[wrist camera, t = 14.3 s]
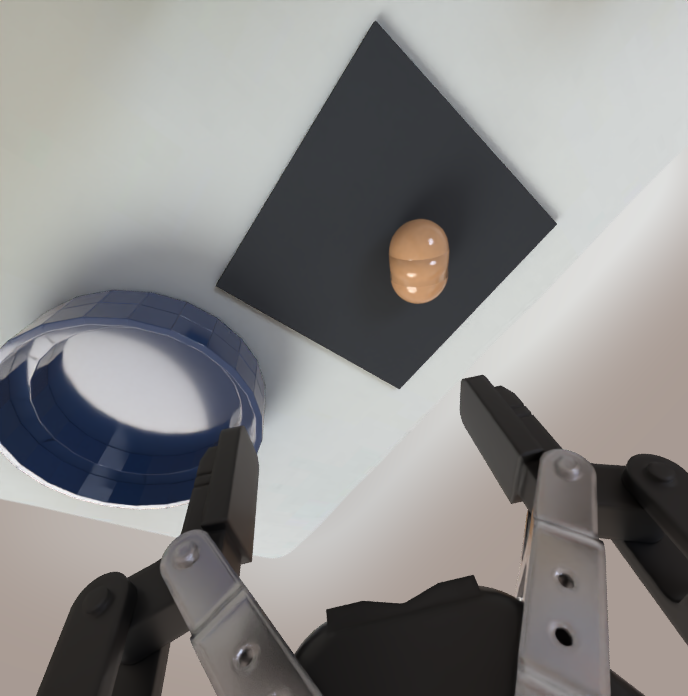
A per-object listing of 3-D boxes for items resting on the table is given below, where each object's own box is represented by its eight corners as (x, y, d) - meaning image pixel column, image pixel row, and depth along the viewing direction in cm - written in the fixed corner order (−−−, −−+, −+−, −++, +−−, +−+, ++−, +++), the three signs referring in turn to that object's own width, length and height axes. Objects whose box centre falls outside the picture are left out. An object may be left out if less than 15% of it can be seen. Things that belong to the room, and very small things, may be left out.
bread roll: (375, 226, 25) (432, 229, 22) (405, 211, 27) (460, 212, 25) (381, 307, 28) (432, 318, 26) (408, 286, 31) (456, 294, 28)
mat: (216, 283, 28) (215, 286, 27) (373, 22, 21) (375, 20, 21) (398, 386, 36) (399, 389, 36) (553, 222, 29) (557, 224, 29)
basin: (-39, 315, 26) (-100, 350, 22) (227, 267, 27) (217, 292, 23) (98, 483, 37) (74, 527, 33) (285, 444, 38) (285, 483, 34)
